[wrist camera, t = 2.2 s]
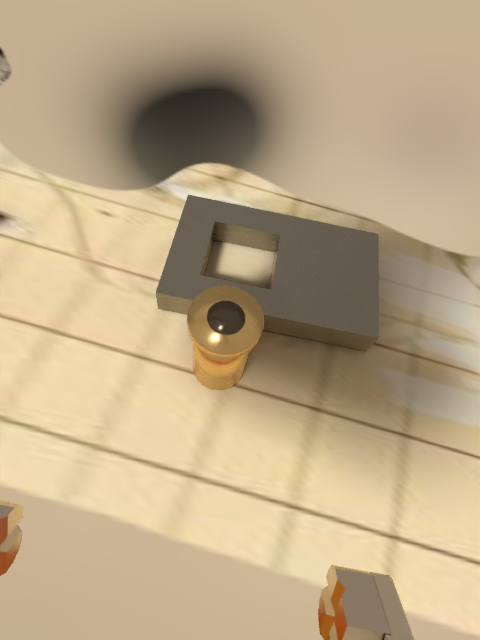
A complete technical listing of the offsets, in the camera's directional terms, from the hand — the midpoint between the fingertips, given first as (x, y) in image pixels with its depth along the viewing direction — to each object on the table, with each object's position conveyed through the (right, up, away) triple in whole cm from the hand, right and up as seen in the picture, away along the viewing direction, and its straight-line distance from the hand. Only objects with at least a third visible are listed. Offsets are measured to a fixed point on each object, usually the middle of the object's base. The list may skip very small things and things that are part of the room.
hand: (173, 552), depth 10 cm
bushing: (0, +2, +21) cm, 21 cm away
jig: (+5, +10, +26) cm, 28 cm away
